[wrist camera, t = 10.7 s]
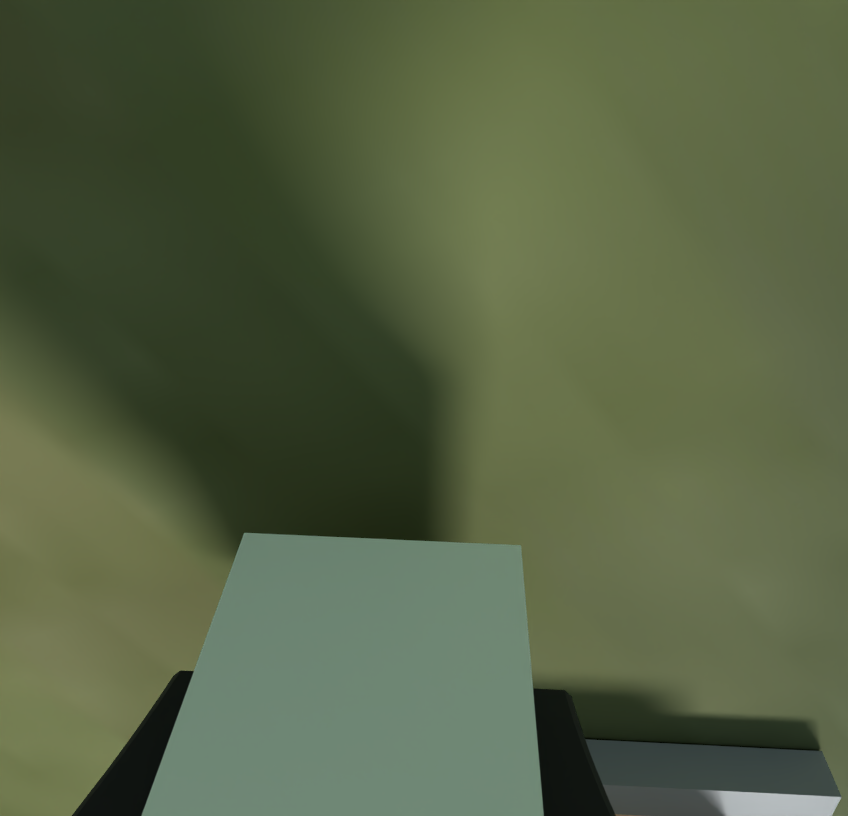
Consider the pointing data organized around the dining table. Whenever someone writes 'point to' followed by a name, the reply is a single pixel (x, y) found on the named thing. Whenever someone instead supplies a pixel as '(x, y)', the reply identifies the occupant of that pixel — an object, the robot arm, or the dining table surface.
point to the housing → (713, 780)
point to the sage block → (359, 685)
